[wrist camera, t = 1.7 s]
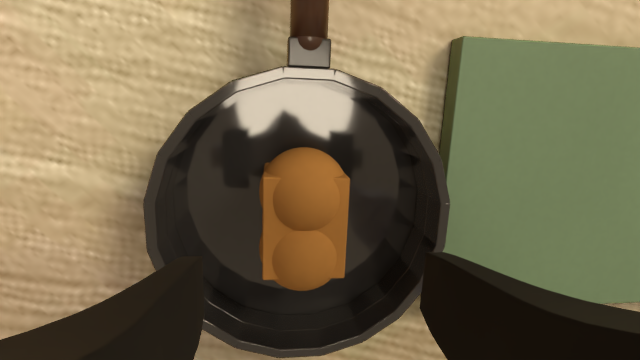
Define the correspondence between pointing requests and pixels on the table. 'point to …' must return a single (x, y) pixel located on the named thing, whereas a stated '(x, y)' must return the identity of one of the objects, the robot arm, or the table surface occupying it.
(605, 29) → the table surface
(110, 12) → the table surface
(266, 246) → the orange double sphere block
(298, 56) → the pan handle
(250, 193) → the pan
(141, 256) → the table surface
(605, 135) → the cutting board
